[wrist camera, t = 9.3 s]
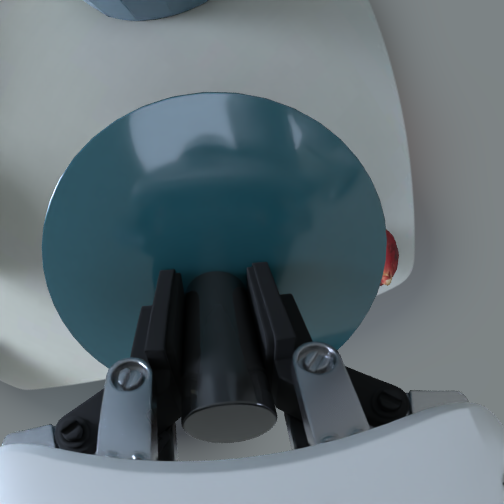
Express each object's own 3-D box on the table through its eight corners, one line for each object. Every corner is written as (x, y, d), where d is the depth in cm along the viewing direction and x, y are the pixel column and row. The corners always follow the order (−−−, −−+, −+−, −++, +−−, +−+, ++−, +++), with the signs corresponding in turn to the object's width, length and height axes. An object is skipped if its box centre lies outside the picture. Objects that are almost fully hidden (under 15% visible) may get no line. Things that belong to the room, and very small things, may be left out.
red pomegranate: (361, 197, 25) (411, 233, 18) (380, 241, 28) (423, 283, 21) (312, 230, 26) (348, 277, 19) (335, 271, 29) (370, 321, 22)
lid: (391, 107, 9) (533, 137, 3) (342, 362, 16) (384, 451, 10) (24, 130, 7) (-105, 182, 2) (110, 384, 14) (95, 481, 9)
